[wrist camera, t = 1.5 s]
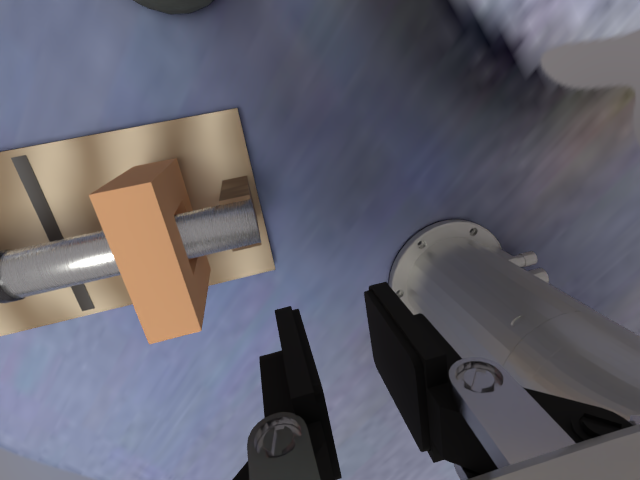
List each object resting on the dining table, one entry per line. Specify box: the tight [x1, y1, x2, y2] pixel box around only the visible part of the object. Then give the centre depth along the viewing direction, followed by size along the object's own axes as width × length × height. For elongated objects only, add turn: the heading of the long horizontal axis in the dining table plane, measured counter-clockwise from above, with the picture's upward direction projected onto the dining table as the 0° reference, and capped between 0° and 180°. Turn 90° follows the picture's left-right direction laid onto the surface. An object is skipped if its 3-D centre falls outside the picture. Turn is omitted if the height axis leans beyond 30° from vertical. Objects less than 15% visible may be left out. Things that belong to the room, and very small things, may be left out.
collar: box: [89, 158, 211, 344], centre depth 25 cm, size 3×9×9 cm, turn 10°
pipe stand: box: [0, 108, 275, 336], centre depth 28 cm, size 24×14×8 cm, turn 100°
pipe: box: [0, 199, 261, 303], centre depth 24 cm, size 23×3×3 cm, turn 100°
